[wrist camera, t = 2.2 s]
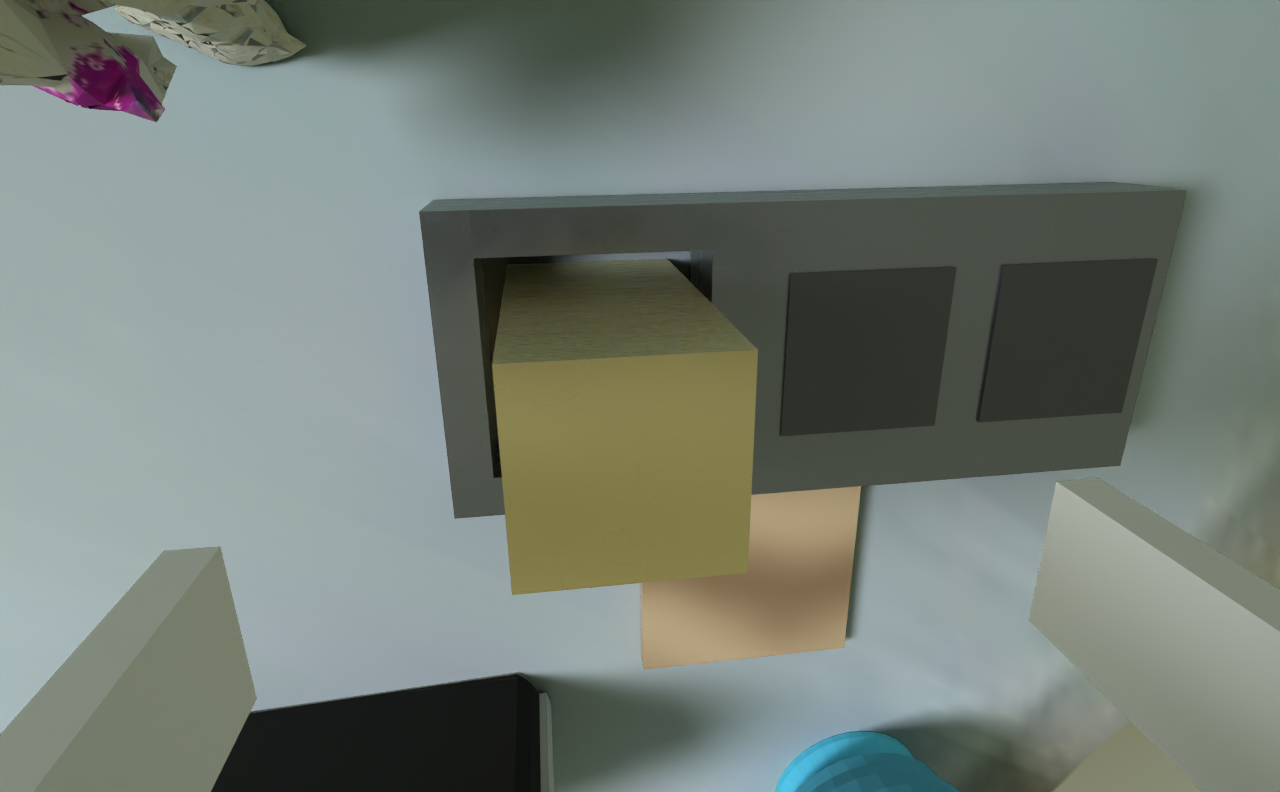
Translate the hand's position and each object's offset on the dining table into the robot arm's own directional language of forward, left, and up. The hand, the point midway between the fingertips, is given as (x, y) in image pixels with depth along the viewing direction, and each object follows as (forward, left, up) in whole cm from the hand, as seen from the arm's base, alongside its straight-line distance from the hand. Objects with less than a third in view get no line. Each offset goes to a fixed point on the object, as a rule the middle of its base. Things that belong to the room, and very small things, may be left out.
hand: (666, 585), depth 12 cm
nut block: (0, 0, -13) cm, 13 cm away
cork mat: (+9, +5, -13) cm, 17 cm away
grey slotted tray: (0, +6, -13) cm, 15 cm away
